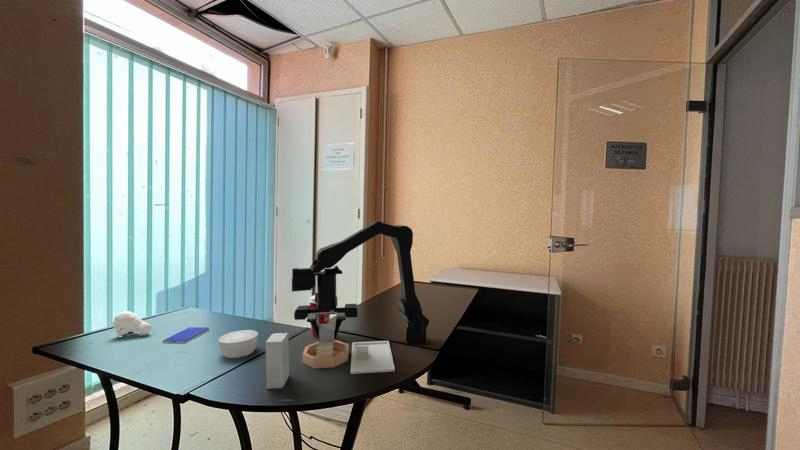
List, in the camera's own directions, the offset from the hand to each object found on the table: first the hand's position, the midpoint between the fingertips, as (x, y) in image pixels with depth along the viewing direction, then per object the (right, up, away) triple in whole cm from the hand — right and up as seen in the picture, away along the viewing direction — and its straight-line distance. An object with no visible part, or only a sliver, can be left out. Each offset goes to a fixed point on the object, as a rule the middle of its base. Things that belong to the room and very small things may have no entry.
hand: (327, 338), depth 101 cm
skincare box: (-9, -6, -16) cm, 20 cm away
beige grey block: (+11, -5, -3) cm, 12 cm away
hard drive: (-54, -5, +16) cm, 56 cm away
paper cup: (-6, -5, +16) cm, 18 cm away
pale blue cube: (0, -1, 0) cm, 1 cm away
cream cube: (+1, -5, -6) cm, 8 cm away
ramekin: (-29, -5, +2) cm, 29 cm away
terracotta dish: (0, -5, -3) cm, 6 cm away
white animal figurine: (-74, -5, +17) cm, 76 cm away
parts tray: (+14, -5, -2) cm, 15 cm away
